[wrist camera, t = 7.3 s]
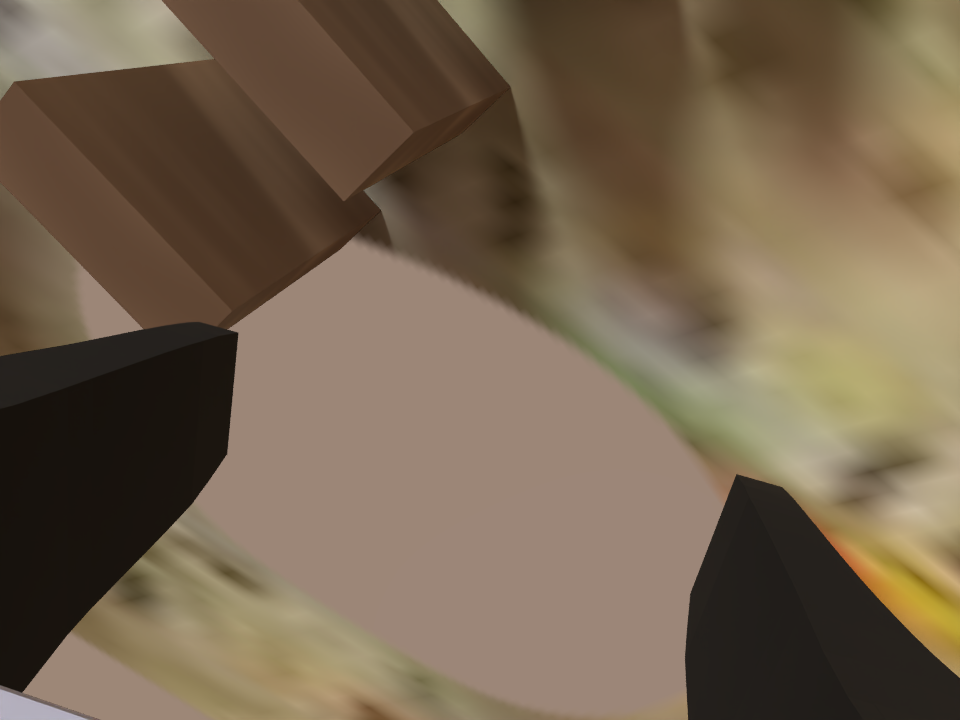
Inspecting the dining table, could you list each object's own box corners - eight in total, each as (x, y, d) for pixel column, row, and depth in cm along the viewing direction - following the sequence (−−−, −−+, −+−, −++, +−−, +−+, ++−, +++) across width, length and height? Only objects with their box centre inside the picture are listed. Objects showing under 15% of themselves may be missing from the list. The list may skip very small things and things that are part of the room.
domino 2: (462, 133, 21) (343, 201, 14) (318, -33, 20) (111, -55, 13) (510, 86, 20) (413, 132, 13) (363, -87, 19) (173, -142, 12)
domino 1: (339, 249, 23) (178, 363, 15) (204, 101, 22) (-33, 147, 15) (380, 210, 22) (232, 310, 15) (242, 55, 21) (14, 81, 14)
